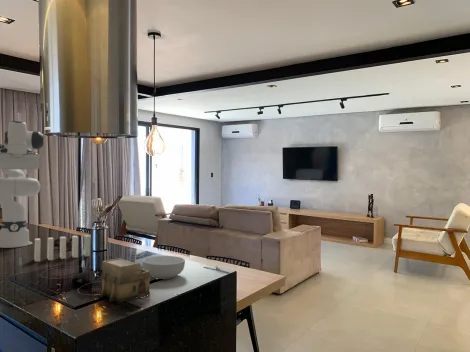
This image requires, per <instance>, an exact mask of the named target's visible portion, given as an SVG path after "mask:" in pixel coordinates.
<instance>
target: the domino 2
mask: <svg viewBox="0 0 470 352" xmlns="http://www.w3.org/2000/svg"><path fill="white" fill-rule="evenodd" d="M54 240H55V238H54V237H47V247H46V248H47V253H46V257H47V260H48V261H53V260H54V247H53V245H54Z"/></svg>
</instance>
